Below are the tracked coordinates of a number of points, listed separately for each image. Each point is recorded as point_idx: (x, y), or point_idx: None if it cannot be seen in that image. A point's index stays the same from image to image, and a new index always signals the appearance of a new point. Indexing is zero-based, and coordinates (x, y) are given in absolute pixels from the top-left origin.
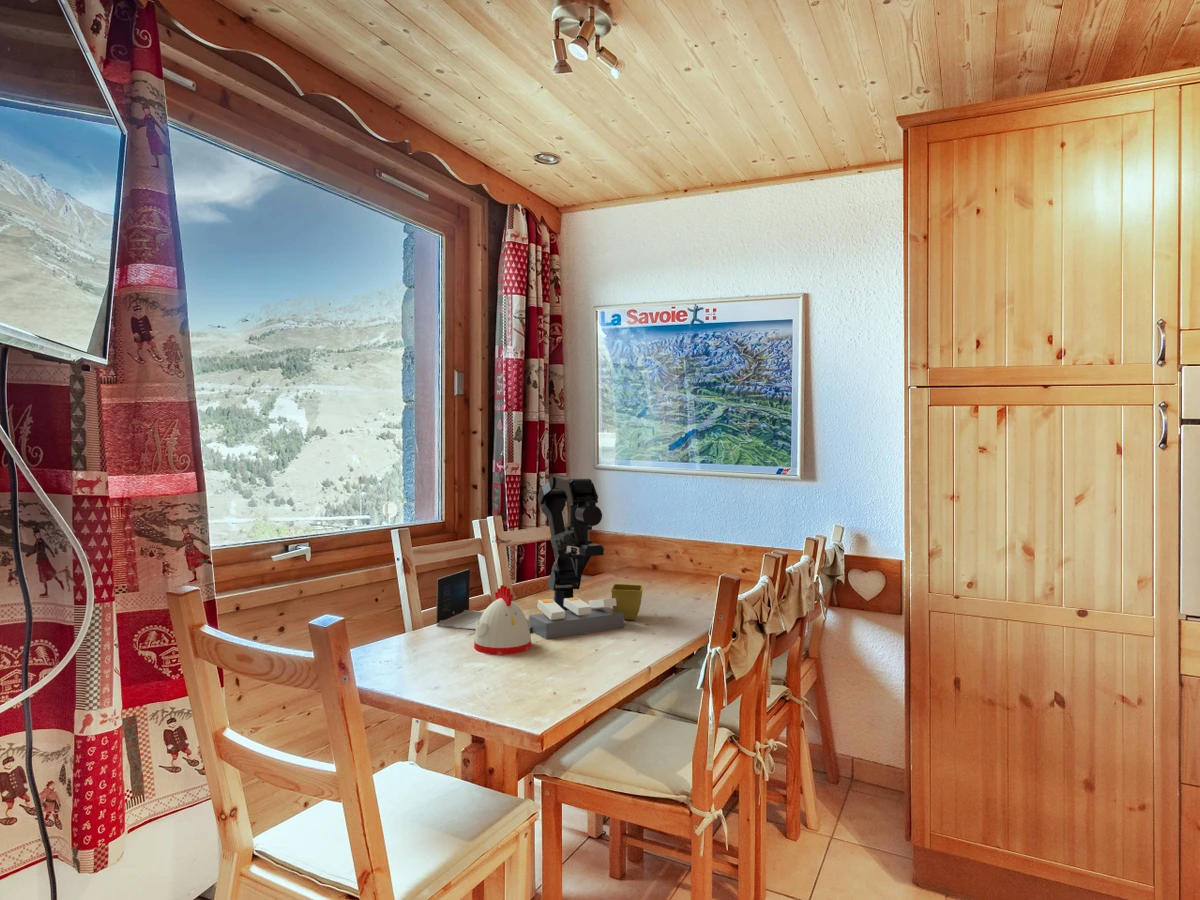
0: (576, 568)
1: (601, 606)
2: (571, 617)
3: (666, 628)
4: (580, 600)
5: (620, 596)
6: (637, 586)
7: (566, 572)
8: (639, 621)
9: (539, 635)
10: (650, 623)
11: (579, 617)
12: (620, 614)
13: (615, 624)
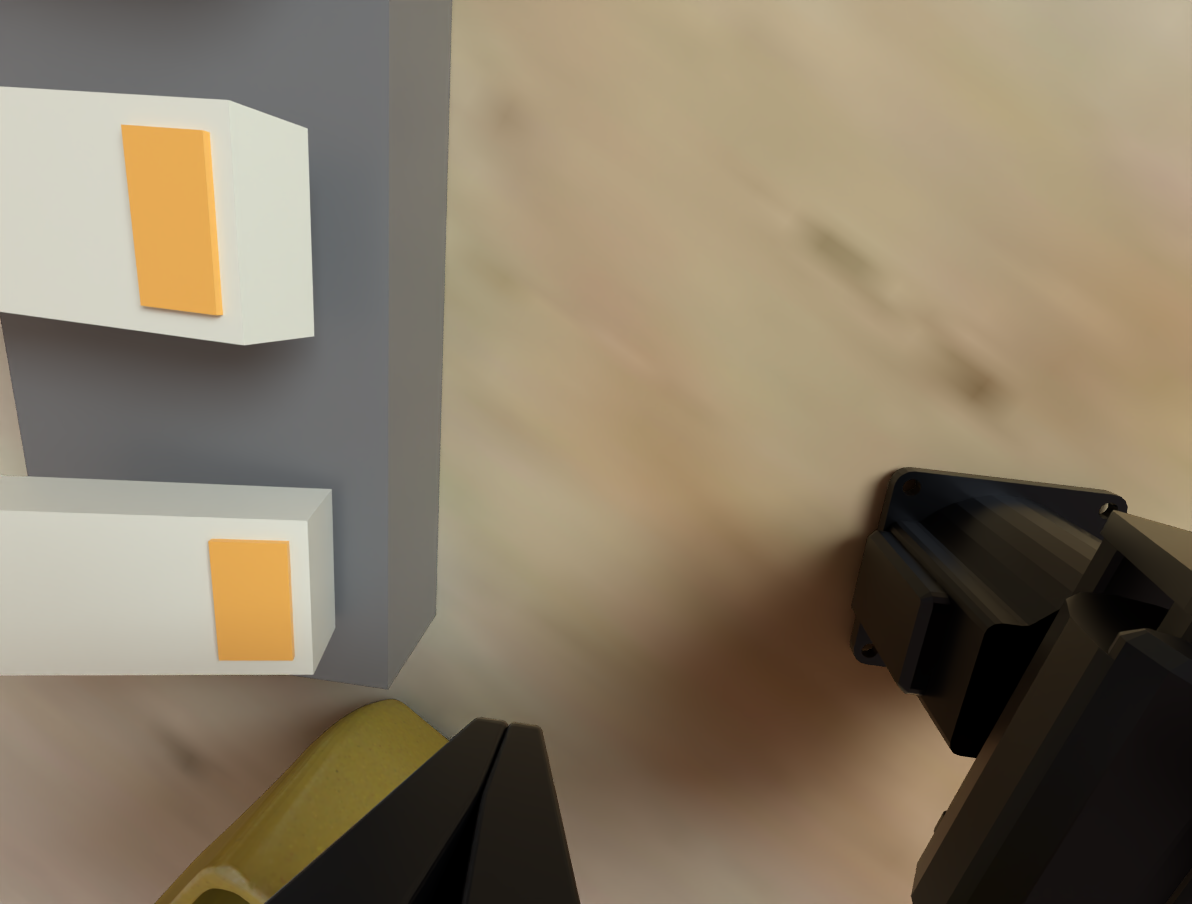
0: (379, 863)
1: (29, 479)
2: (57, 58)
3: (48, 777)
4: (112, 306)
5: (214, 850)
6: None
7: (1129, 869)
8: (279, 772)
9: None
10: (200, 789)
11: None
12: None
13: None
